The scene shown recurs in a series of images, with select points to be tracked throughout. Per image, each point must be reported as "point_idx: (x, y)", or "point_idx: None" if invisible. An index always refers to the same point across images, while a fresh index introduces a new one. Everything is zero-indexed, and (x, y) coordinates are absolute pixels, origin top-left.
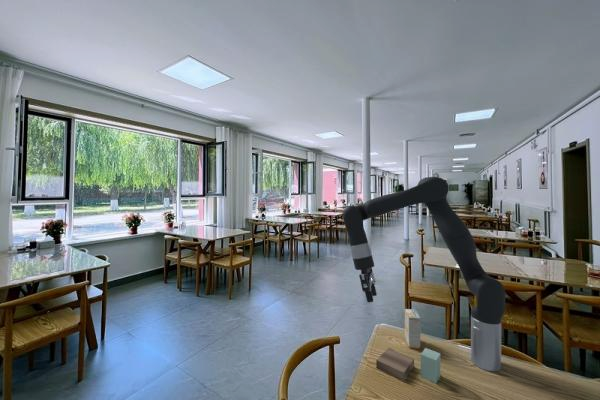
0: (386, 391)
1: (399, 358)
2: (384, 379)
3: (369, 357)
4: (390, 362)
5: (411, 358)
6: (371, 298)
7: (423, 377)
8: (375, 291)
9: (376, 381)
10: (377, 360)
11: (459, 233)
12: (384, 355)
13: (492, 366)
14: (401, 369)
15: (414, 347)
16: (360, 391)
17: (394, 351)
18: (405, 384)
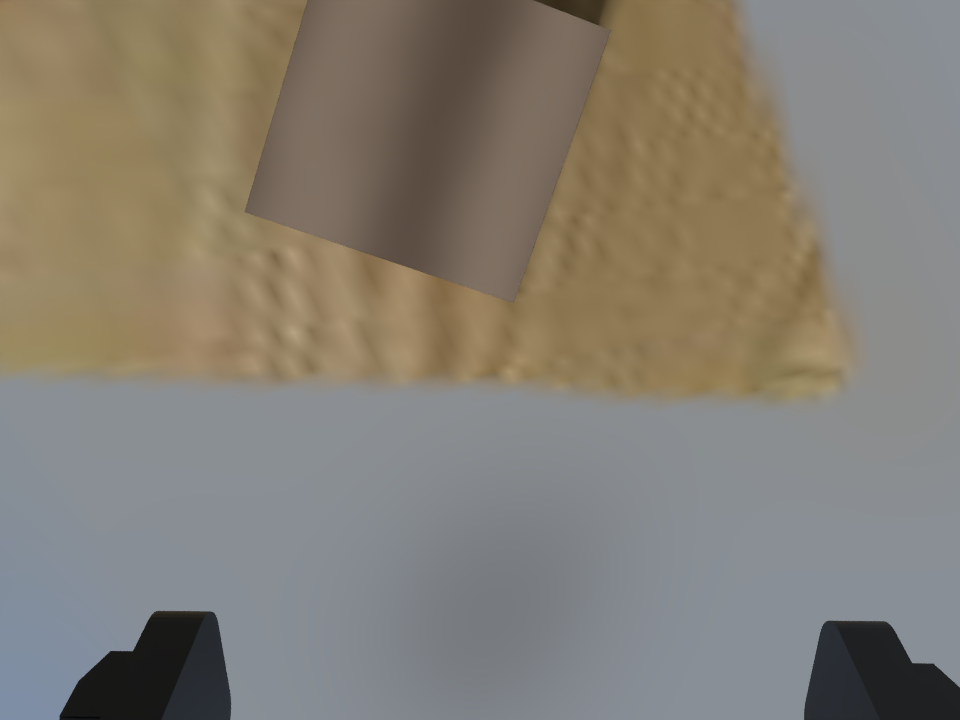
0: (763, 173)
1: (390, 79)
2: (628, 204)
3: (374, 376)
4: (498, 164)
5: None
6: (911, 703)
7: None
8: (171, 697)
9: (677, 265)
10: (517, 291)
11: None
12: (405, 235)
13: None
14: (565, 51)
15: None
16: (830, 365)
17: (283, 139)
18: (624, 23)
